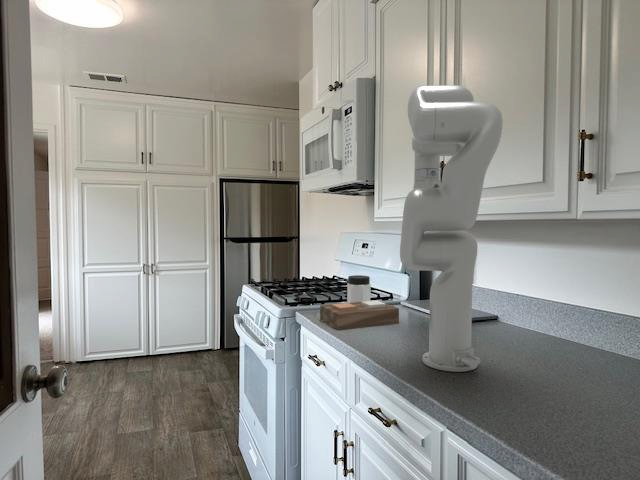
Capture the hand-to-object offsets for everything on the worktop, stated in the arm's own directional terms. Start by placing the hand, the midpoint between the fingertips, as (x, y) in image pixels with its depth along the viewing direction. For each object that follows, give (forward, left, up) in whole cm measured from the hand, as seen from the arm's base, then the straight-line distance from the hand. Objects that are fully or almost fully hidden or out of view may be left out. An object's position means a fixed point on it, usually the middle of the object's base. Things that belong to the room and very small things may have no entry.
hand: (425, 234), depth 133 cm
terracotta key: (+14, +21, -27) cm, 37 cm away
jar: (+33, +6, -29) cm, 45 cm away
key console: (+14, +16, -29) cm, 36 cm away
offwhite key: (+14, +10, -27) cm, 32 cm away
